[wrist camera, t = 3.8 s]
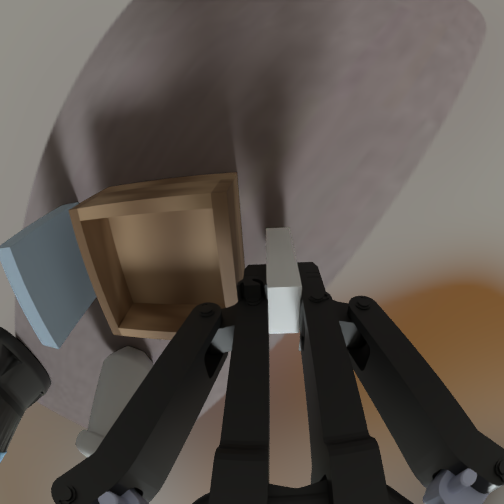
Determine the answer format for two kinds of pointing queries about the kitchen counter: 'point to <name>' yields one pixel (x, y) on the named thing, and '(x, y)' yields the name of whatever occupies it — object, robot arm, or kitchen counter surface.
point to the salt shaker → (113, 394)
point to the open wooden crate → (161, 250)
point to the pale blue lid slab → (49, 275)
